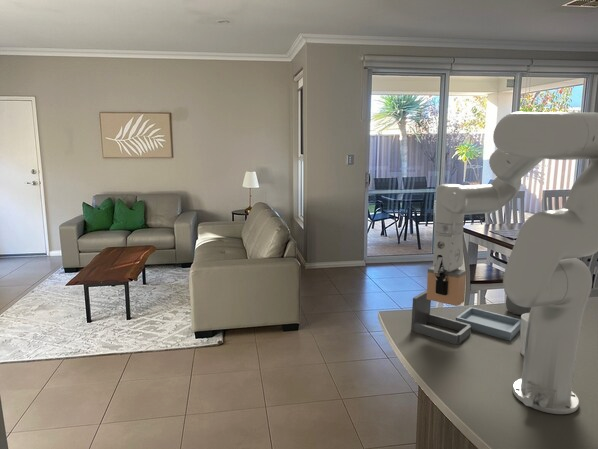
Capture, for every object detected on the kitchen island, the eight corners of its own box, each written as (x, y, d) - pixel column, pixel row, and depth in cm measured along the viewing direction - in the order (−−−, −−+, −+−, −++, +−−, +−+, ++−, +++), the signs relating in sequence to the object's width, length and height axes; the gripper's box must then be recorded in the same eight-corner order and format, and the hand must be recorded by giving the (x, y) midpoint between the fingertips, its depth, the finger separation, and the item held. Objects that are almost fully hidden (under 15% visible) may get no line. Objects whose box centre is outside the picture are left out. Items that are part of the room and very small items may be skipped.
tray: (510, 340, 123) (510, 332, 123) (455, 325, 133) (455, 317, 133) (522, 327, 132) (523, 320, 131) (469, 314, 142) (470, 306, 141)
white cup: (555, 354, 116) (559, 318, 114) (546, 365, 110) (551, 327, 108) (522, 344, 121) (526, 310, 119) (513, 354, 115) (517, 318, 113)
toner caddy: (457, 306, 121) (459, 274, 120) (426, 299, 127) (427, 268, 126) (464, 301, 125) (466, 270, 124) (434, 295, 131) (435, 265, 130)
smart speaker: (535, 321, 137) (540, 277, 134) (502, 314, 142) (507, 272, 139) (537, 311, 145) (542, 270, 142) (507, 305, 150) (511, 265, 147)
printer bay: (458, 345, 121) (460, 310, 119) (411, 330, 130) (412, 297, 128) (471, 333, 128) (474, 300, 126) (426, 320, 137) (428, 289, 135)
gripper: (449, 234, 114) (445, 302, 117) (473, 226, 127) (470, 287, 130) (422, 231, 119) (419, 296, 122) (448, 223, 132) (445, 282, 135)
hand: (445, 291), depth 126 cm, fingers closed on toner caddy, 5 cm apart
